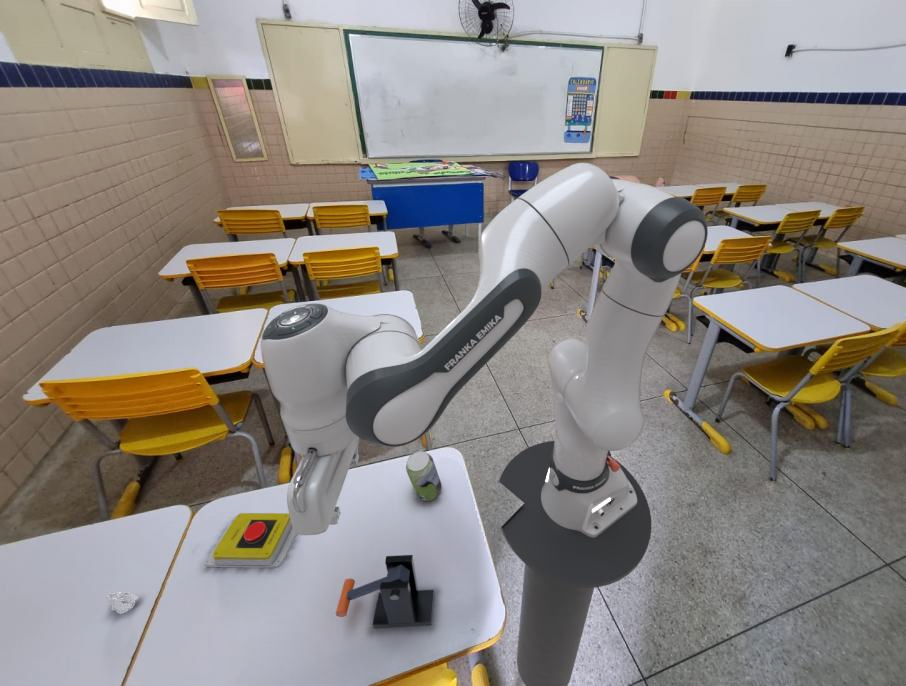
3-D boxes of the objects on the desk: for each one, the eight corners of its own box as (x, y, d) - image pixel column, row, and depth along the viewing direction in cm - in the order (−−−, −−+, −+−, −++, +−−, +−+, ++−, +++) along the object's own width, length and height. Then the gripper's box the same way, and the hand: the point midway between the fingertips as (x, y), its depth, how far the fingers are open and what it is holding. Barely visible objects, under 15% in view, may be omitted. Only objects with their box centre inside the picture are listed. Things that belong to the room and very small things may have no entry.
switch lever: (341, 619, 63) (331, 613, 62) (350, 585, 68) (341, 579, 67) (406, 594, 61) (397, 588, 60) (411, 561, 65) (403, 555, 64)
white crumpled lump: (143, 601, 68) (133, 590, 67) (135, 613, 67) (125, 602, 65) (114, 602, 68) (104, 591, 66) (105, 614, 67) (94, 604, 65)
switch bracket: (372, 632, 65) (360, 593, 59) (380, 592, 70) (370, 553, 64) (431, 628, 66) (425, 590, 59) (434, 589, 71) (429, 550, 65)
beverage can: (447, 491, 89) (444, 455, 83) (421, 512, 84) (416, 476, 78) (430, 474, 93) (426, 440, 87) (405, 494, 88) (399, 459, 82)
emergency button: (275, 555, 72) (195, 554, 71) (281, 567, 74) (203, 567, 74) (297, 508, 80) (226, 508, 80) (302, 521, 82) (232, 520, 82)
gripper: (320, 491, 41) (343, 562, 48) (367, 373, 59) (380, 436, 66) (260, 493, 41) (292, 564, 47) (326, 373, 59) (342, 437, 65)
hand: (343, 489), depth 57 cm, fingers open, 8 cm apart
